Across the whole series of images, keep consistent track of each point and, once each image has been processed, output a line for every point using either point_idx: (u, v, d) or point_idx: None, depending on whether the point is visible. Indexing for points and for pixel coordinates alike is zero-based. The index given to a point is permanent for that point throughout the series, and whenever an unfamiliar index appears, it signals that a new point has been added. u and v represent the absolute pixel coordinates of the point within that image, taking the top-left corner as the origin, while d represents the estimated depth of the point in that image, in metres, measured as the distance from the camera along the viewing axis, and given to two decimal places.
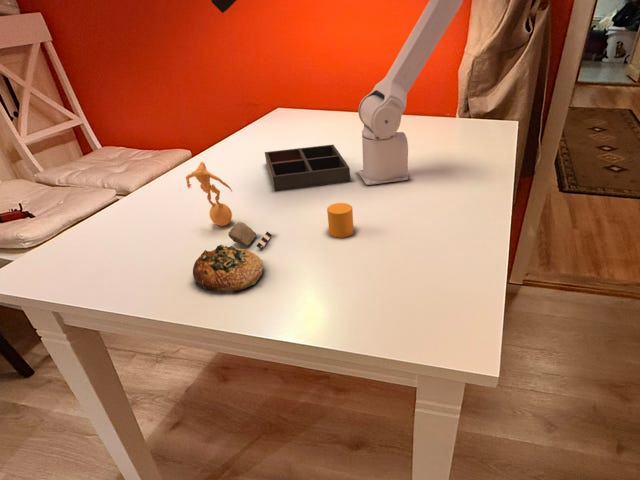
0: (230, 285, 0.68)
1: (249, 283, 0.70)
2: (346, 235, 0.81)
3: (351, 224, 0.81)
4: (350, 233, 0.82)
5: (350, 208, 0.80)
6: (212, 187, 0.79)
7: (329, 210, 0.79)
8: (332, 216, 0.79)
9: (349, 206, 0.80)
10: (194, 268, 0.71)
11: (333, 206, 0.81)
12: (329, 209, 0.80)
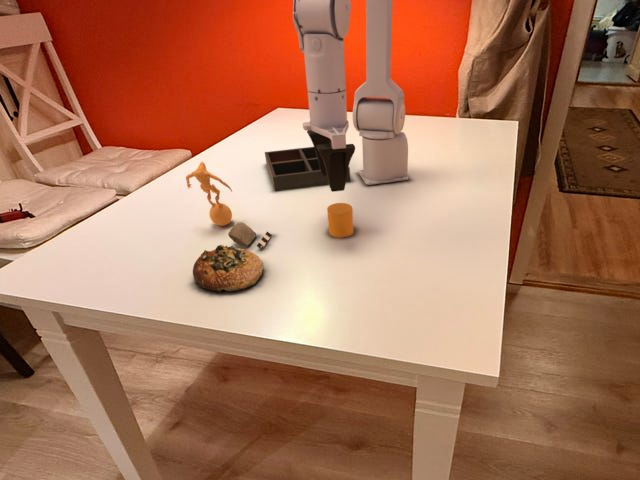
0: (230, 285, 0.68)
1: (249, 283, 0.70)
2: (346, 235, 0.81)
3: (351, 224, 0.81)
4: (350, 233, 0.82)
5: (350, 208, 0.80)
6: (212, 187, 0.79)
7: (329, 210, 0.79)
8: (332, 216, 0.79)
9: (349, 206, 0.80)
10: (194, 268, 0.71)
11: (333, 206, 0.81)
12: (329, 209, 0.80)
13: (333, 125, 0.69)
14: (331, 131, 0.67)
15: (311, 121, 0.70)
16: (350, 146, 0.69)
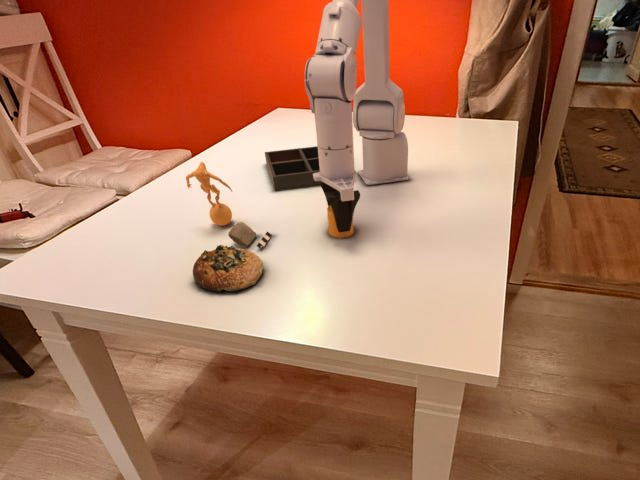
0: (230, 285, 0.68)
1: (249, 283, 0.70)
2: (346, 235, 0.81)
3: (351, 224, 0.81)
4: (350, 233, 0.82)
5: None
6: (212, 187, 0.79)
7: (329, 210, 0.79)
8: (332, 216, 0.79)
9: None
10: (194, 268, 0.71)
11: None
12: (329, 209, 0.80)
13: (342, 177, 0.74)
14: (340, 184, 0.72)
15: (321, 172, 0.75)
16: (355, 193, 0.75)
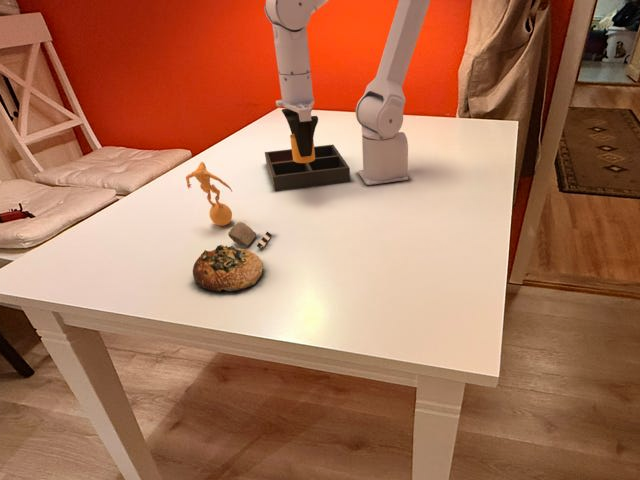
0: (230, 285, 0.68)
1: (249, 283, 0.70)
2: (308, 161, 0.90)
3: (312, 150, 0.89)
4: (312, 159, 0.90)
5: None
6: (212, 187, 0.79)
7: (292, 136, 0.88)
8: (294, 142, 0.88)
9: None
10: (194, 268, 0.71)
11: None
12: (292, 136, 0.88)
13: (301, 102, 0.82)
14: (299, 107, 0.81)
15: (282, 99, 0.83)
16: (314, 117, 0.84)
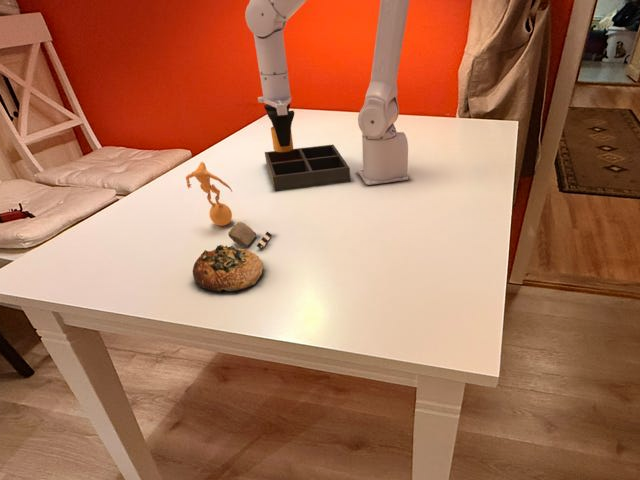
0: (230, 285, 0.68)
1: (249, 283, 0.70)
2: (286, 150, 1.02)
3: (290, 141, 1.02)
4: (290, 149, 1.03)
5: None
6: (212, 187, 0.79)
7: (272, 129, 1.01)
8: (274, 133, 1.00)
9: None
10: (194, 268, 0.71)
11: None
12: (272, 128, 1.01)
13: (279, 98, 0.95)
14: (277, 102, 0.94)
15: (263, 95, 0.96)
16: (291, 112, 0.96)
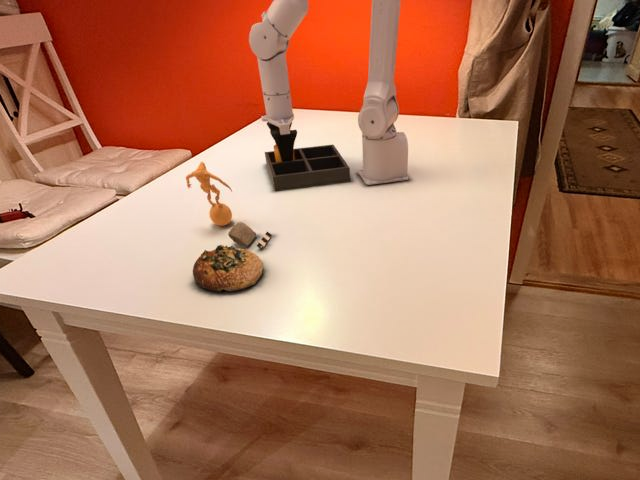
0: (230, 285, 0.68)
1: (249, 283, 0.70)
2: None
3: None
4: None
5: None
6: (212, 187, 0.79)
7: (275, 147, 1.03)
8: (277, 151, 1.03)
9: None
10: (194, 268, 0.71)
11: None
12: (275, 146, 1.03)
13: (282, 117, 0.97)
14: (280, 122, 0.96)
15: (266, 115, 0.98)
16: (293, 131, 0.98)
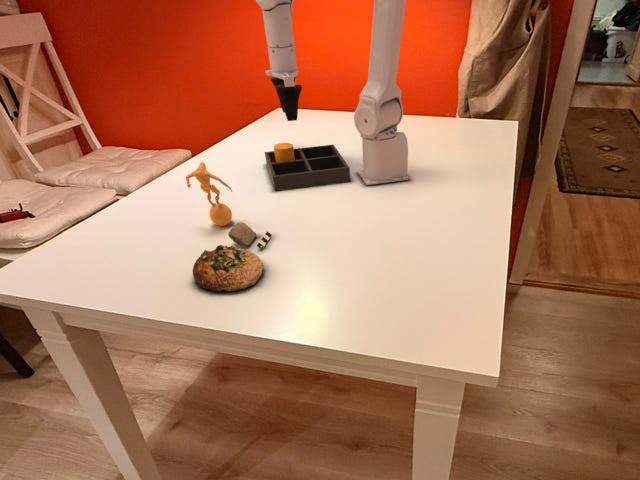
0: (230, 285, 0.68)
1: (249, 283, 0.70)
2: None
3: (292, 159, 1.05)
4: None
5: (291, 146, 1.03)
6: (212, 187, 0.79)
7: (275, 147, 1.03)
8: (277, 151, 1.03)
9: (291, 144, 1.04)
10: (194, 268, 0.71)
11: (278, 144, 1.04)
12: (275, 146, 1.03)
13: (286, 71, 0.98)
14: (284, 74, 0.97)
15: (271, 68, 0.99)
16: (298, 86, 0.99)
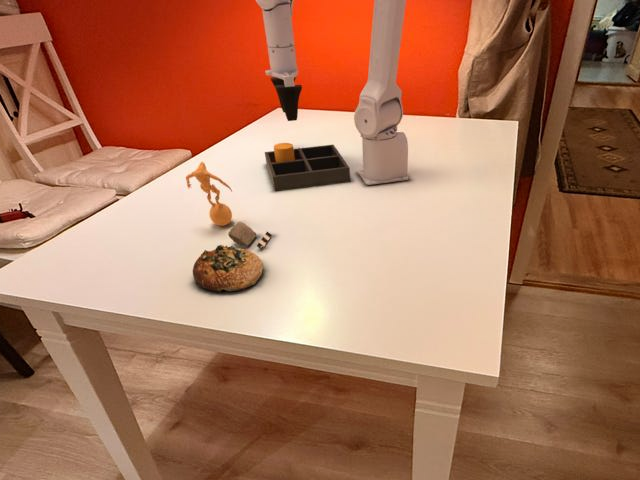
0: (230, 285, 0.68)
1: (249, 283, 0.70)
2: None
3: (292, 159, 1.05)
4: None
5: (291, 146, 1.03)
6: (212, 187, 0.79)
7: (275, 147, 1.03)
8: (277, 151, 1.03)
9: (291, 144, 1.04)
10: (194, 268, 0.71)
11: (278, 144, 1.04)
12: (275, 146, 1.03)
13: (286, 71, 0.98)
14: (284, 74, 0.97)
15: (271, 68, 0.99)
16: (298, 86, 0.99)
